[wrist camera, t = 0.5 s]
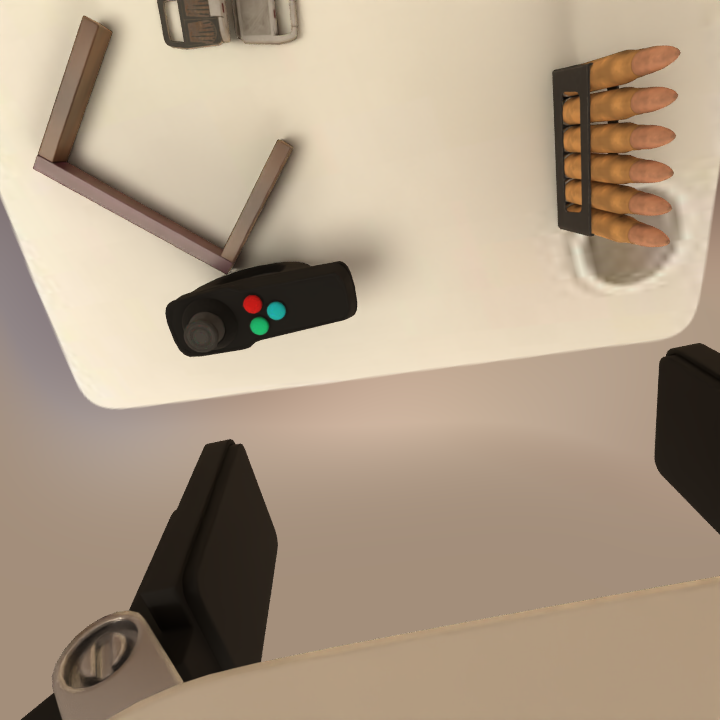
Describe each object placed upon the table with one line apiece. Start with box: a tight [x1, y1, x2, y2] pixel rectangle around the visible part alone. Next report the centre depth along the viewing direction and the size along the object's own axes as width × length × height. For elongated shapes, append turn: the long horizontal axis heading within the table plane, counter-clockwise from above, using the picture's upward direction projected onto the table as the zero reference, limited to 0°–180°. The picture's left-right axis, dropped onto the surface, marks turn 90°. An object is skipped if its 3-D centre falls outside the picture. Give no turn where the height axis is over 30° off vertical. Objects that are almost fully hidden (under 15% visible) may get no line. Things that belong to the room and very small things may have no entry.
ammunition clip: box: [552, 46, 680, 247], centre depth 30 cm, size 11×2×12 cm, turn 12°
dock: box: [33, 16, 293, 274], centre depth 33 cm, size 10×14×2 cm
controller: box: [165, 261, 357, 357], centre depth 33 cm, size 4×12×10 cm, turn 102°
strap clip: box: [157, 0, 298, 49], centre depth 29 cm, size 8×3×4 cm, turn 93°
